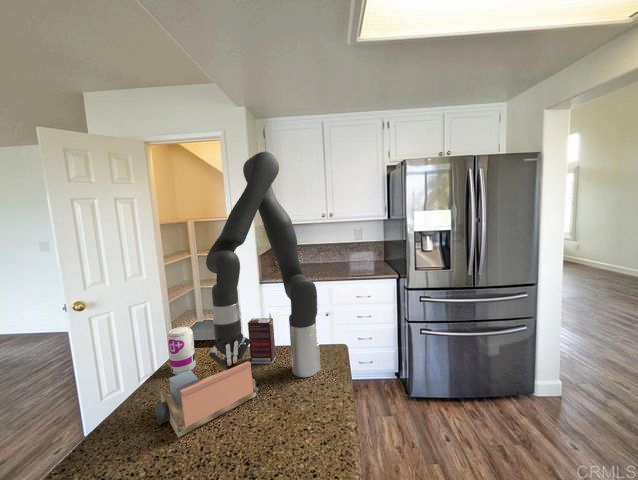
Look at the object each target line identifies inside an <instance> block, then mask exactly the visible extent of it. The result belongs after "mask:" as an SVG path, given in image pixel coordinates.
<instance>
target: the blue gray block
mask: <svg viewBox="0 0 638 480" xmlns="http://www.w3.org/2000/svg"><path fill="white" fill-rule="evenodd" d="M199 381H200V380H199V378H198V377H197V375H195V373H194V372H193V371H192V370H189V371H186V372H184V373H181V374H179V375H176V374H175V375H173V376H172V377H169V379H168V382H169V388H170V389H169V391H170V393H171V395H172V397H173V398H174V400H175V402H176V403H177V405H179V404H181V403H182V402H181V394H180V390H182V389H184V388H187V387H189V386H191V385H194V384H196V383H198V382H199Z"/></svg>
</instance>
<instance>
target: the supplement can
mask: <svg viewBox="0 0 638 480" xmlns="http://www.w3.org/2000/svg"><path fill="white" fill-rule="evenodd" d="M193 332H194V331H193V330H192V329H191V326H187V325H185V326H177V327H175V328H172V329H171V330H169V331H168V335H167V345H168V356H169V365H170V366H169V367H170V372H171V373H172V374H174V375H175V376H176V375H179V374H181V373H184V372H186V371H189V370H191V371H192V370H194V369H195V367H196V366H197V363H196V354H195V353H196V352H195V341H194V333H193Z"/></svg>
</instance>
